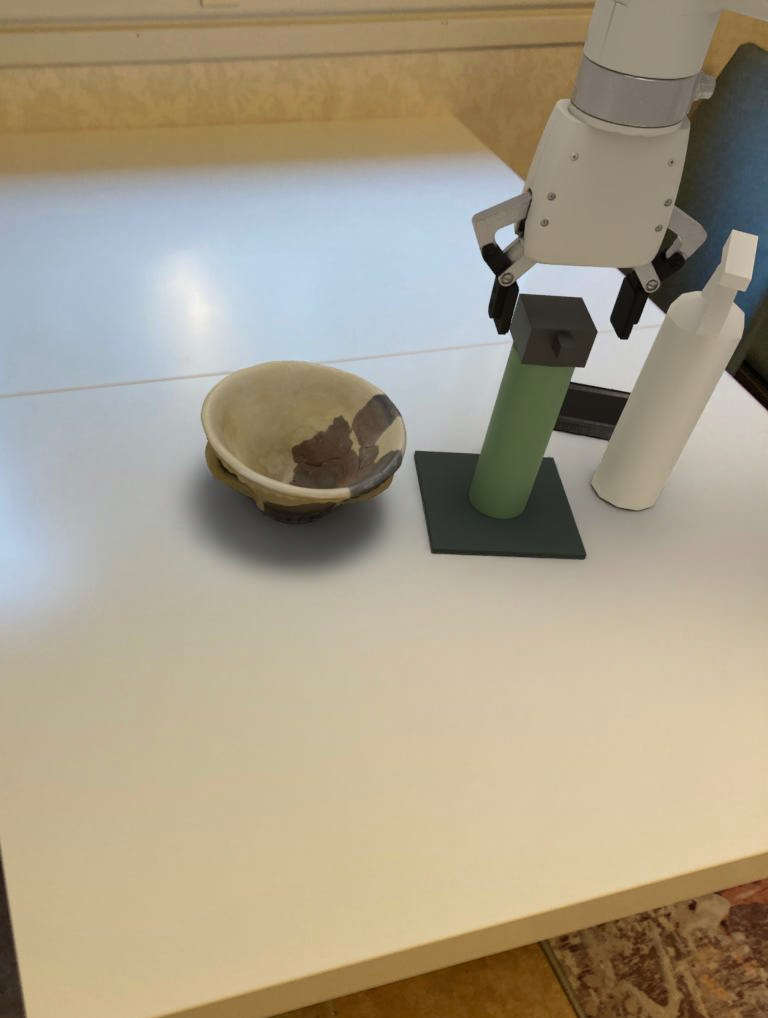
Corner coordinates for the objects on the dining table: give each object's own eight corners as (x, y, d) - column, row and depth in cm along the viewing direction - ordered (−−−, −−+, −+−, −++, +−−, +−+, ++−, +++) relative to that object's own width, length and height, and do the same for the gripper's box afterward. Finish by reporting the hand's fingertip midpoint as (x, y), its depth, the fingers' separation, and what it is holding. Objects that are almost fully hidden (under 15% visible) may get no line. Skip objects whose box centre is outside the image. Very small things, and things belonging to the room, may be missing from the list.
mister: (464, 480, 89) (517, 292, 74) (519, 483, 89) (583, 296, 75) (476, 530, 84) (535, 340, 70) (534, 533, 85) (605, 344, 70)
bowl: (180, 554, 80) (180, 465, 73) (219, 430, 92) (222, 344, 85) (383, 585, 79) (402, 500, 72) (396, 457, 91) (413, 372, 84)
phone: (533, 374, 101) (672, 399, 100) (530, 383, 102) (668, 408, 101) (531, 415, 96) (678, 442, 95) (528, 425, 97) (674, 451, 95)
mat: (551, 461, 93) (553, 457, 92) (584, 559, 84) (587, 554, 83) (413, 455, 92) (414, 450, 91) (432, 553, 83) (433, 548, 82)
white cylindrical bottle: (669, 461, 95) (788, 215, 76) (653, 532, 87) (781, 278, 68) (604, 441, 96) (705, 195, 77) (582, 509, 88) (689, 255, 70)
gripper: (738, 78, 64) (651, 308, 77) (492, 64, 63) (445, 299, 76) (779, 120, 59) (678, 358, 72) (512, 105, 58) (458, 350, 71)
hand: (559, 328), depth 74 cm, fingers open, 9 cm apart
